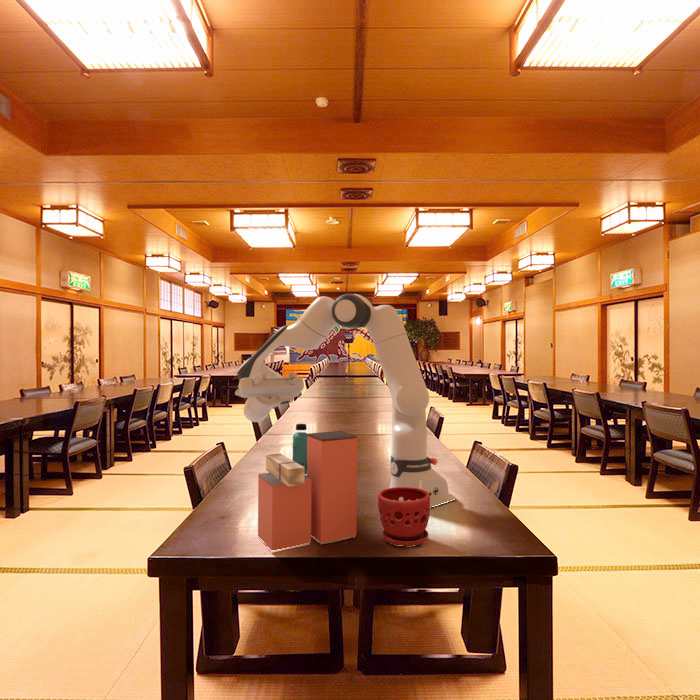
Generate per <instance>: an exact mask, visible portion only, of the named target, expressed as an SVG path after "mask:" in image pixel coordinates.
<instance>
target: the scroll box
mask: <svg viewBox="0 0 700 700" xmlns="http://www.w3.org/2000/svg"><path fill="white" fill-rule="evenodd" d="M265 470H266V471H267V473H271V474H272V475H273V476H275V477H276V478H277V479H279V480H280V481H282V482H283V483H284V484H286V485H287V486H288V487H289V486H296V485H303V484H304V476H305V474H304V472H305V467H303V466H301V465H299V464H298V463H296V462H295V461H293V459H291V458H289V457H287V456H285V454H283V453H273V454H266V455H265Z"/></svg>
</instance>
